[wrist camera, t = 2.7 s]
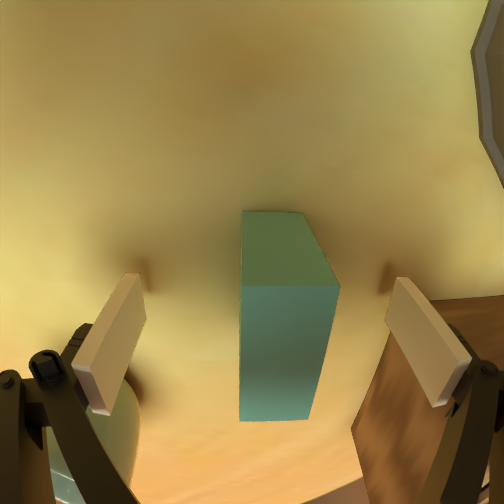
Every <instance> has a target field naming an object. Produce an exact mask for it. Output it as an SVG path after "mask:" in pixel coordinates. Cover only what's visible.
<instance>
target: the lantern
mask: <svg viewBox="0 0 504 504" xmlns="http://www.w3.org/2000/svg"><path fill="white" fill-rule="evenodd" d="M470 52H471V58H472V64H473V71H474V78H475V86H476V95H477V105H478V119H479V138H480V140H481V142H482V144H483V146H484V148H485V150H486V152H487V154H488V156H489V158H490V160H491V162H492V164H493V166H494V168H495V170H496V172H497V175H498V177H499V179H500V181H501V184H502V186H503V188H504V0H489V2H488V5H487V8H486V11H485V14H484V17H483V19H482V22H481V25H480V28H479V31H478V33H477V36H476V39H475V41H474V44H473V46H472V49H471V51H470Z"/></svg>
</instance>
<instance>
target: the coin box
mask: <svg viewBox="0 0 504 504" xmlns="http://www.w3.org/2000/svg"><path fill="white" fill-rule="evenodd" d="M429 302H430V304H431V305H432V306H433V307H434V309H435V310H436V311H437V312H438V314H439V315H440V316H441V317H442V319H443V320H444V321H445V323H450V324H451V325H453V326H454V327H455V328H457V329H458V330H459V332H460V333H461V334H462V336H463V337H464V338H465V339H466V341H467V343H469V345H470V346H471V347H472V349H473V350H474V351H475V353H476V354H477V355H478V357H479V358H480V359H481V360H487V361H490V362H492V363H494V364H495V365H496V366H497V367H498V369H499V370H501V371H504V295H503V296H492V297H481V298H468V299H454V300H439V301H429ZM454 401H455V400H454V398H453V396H452V395H451V397H450V398H449V400H448V402H447V403H446V404H445V405H441V406H437V407H432V406H431V404H430V402H429V400H428V398H427V396H426V394H425V392H424V390H423V388H422V386H421V384H420V383H419V381H418V379H417V377H416V375H415V373H414V371H413V369H412V368H411V366H410V364H409V362H408V360H407V358H406V357H405V355H404V353H403V351H402V349H401V348H400V346H399V344H398V342H397V341H396V339H395V337H394V335H393V334H392V332H391V333H390V335H389V338H388V341H387V344H386V347H385V349H384V352H383V355H382V357H381V360H380V363H379V365H378V368H377V370H376V373H375V375H374V378H373V380H372V383H371V385H370V387H369V390H368V392H367V394H366V397H365V399H364V401H363V403H362V406H361V408H360V410H359V412H358V414H357V417H356V419H355V421H354V423H353V425H352V427H351V432H352V435H353V439H354V443H355V447H356V450H357V454H358V458H359V462H360V465H361V469H362V473H363V477H364V481H365V485H366V489H367V493H368V497H369V501H370V504H415V503H416V501H417V499H418V496H419V494H420V492H421V490H422V488H423V485H424V483H425V481H426V478H427V476H428V473H429V471H430V468H431V466H432V463H433V461H434V458H435V455H436V453H437V450H438V447H439V444H440V441H441V439H442V436H443V433H444V429H445V426H446V423H447V420H448V417H449V415H448V416H447V417H445V415H446V413H447V412H448V410H449V409H450V407H451V406H452V404H453V403H454ZM488 502H489V459H488V464H487V468H486V472H485V476H484V480H483V484H482V488H481V491H480V495H479V498H478V502H477V504H486V503H488Z"/></svg>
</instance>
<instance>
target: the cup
mask: <svg viewBox="0 0 504 504" xmlns="http://www.w3.org/2000/svg"><path fill="white" fill-rule="evenodd" d="M86 413H87V415H88V417H89V419H90V421H91V423H92V425H93V427H94V429H95V431H96V433H97V434H98V436H99V438H100V440H101V442H102V444H103V445H104V447H105V449H106V451H107V452H108V454H109V456H110V458H111V459H112V461H113V463H114V464H115V466H116V468H117V469H118V471H119V472H120V474H121V476H122V477H123V479H124V480H125V482H126V483H127V485H128V486H129V488H130V487H131V482H132V477H133V472H134V467H135V462H136V456H137V450H138V444H139V436H140V425H141V414H140V407H139V402H138V399H137V397H136V394H135V392H134V390H133V389H132V387H131V386H130V384H129V383H128V382H127V381H126V380H125V378H123V381H122V384H121V387H120V389H119V392H118V395H117V398H116V401H115V404H114V406H113V409H112V412H111V415H110V416H108V415H103V414H97V413H93V411H92V409H91V407H90V405H88V407H87V410H86ZM46 434H47V445H48V455H49V463H50V471H51V478H52V484H53V490H54V496H55V499H56V500H58V501H60V502H62V503H65V504H86V503H85V501H84V499H83V497H82V495H81V493H80V491H79V489H78V487H77V485H76V483H75V481H74V479H73V477H72V475H71V473H70V471H69V469H68V466H67V464H66V462H65V460H64V457H63V455H62V453H61V450H60V448H59V445H58V443H57V440H56V438H55V435H54V433H53V430H52V427H46Z"/></svg>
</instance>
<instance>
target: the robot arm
mask: <svg viewBox="0 0 504 504" xmlns="http://www.w3.org/2000/svg"><path fill="white" fill-rule="evenodd" d="M146 319H147V318H146V313H145V307H144V301H143V294H142V288H141V281H140V274H139V273H125V274H124V276H123V277H122V279H121V280H120V282H119V283H118V285H117V287H116V288H115V290H114V291H113V293H112V295H111V296H110V298H109V299H108V301H107V303H106V304H105V306H104V308H103V309H102V311H101V312H100V314H99V316H98V317H97V319H96V321H95V323H94V324H87V323H84V324H83V325H82V326H81V327H79V328H78V329H77V330H76V331H75V333H74V334H73V336H72V339H70V341H69V343H68V346H66V347H65V349H64V351H63V352H62V354H61V356H59V354H58V353H57V352H55V351H53V350H43V351H40V352H38V353H36V354H35V355H34V356H33V357H32V358H31V359H30V361H29V369H30V371H31V373H32V375H33V377H34V378H29V379H22V378H21V376H20V375H19V373H18V372H17V371H15V370H5V371H2V372H1V373H0V504H56V501H55V496H54V490H53V484H52V478H51V471H50V463H49V455H48V445H47V434H46V427H52V430H53V433H54V435H55V438H56V440H57V443H58V445H59V448H60V450H61V453H62V455H63V457H64V460H65V462H66V464H67V466H68V469H69V471H70V473H71V475H72V477H73V479H74V481H75V483H76V485H77V487H78V489H79V491H80V493H81V495H82V497H83V499H84V501H85V503H86V504H140V502H139V501H138V500H137V498H136V497H135V495H134V494H133V492H132V491H131V489H130V488H129V486H128V485H127V483H126V482H125V480H124V479H123V477H122V476H121V474H120V472H119V471H118V469H117V468H116V466H115V464H114V463H113V461H112V459H111V458H110V456H109V454H108V452H107V451H106V449H105V447H104V445H103V444H102V442H101V440H100V438H99V436H98V434H97V433H96V431H95V429H94V427H93V425H92V423H91V421H90V419H89V417H88V415H87V413H86V410H87V407H88V405H90V407H91V409H92V411H93V413H97V414H103V415H108V416H110V415H111V412H112V409H113V406H114V404H115V401H116V398H117V395H118V392H119V389H120V387H121V384H122V381H123V378H124V376H125V373H126V370H127V367H128V365H129V362H130V359H131V357H132V354H133V352H134V349H135V346H136V344H137V341H138V339H139V336H140V334H141V331H142V329H143V326H144V324H145V321H146ZM385 322H386V323H387V325H388V327H389V328H390V330H391V332H392V334H393V335H394V337H395V339H396V341H397V342H398V344H399V346H400V348H401V349H402V351H403V353H404V355H405V357H406V358H407V360H408V362H409V364H410V366H411V368H412V369H413V371H414V373H415V375H416V377H417V379H418V381H419V383H420V384H421V386H422V388H423V390H424V392H425V394H426V396H427V398H428V400H429V402H430V404H431V406H432V407H437V406H441V405H445V404H446V403H447V402H448V400H449V398H450V397H451V395H452V396H453V398H454V400H455V401H454V403H453V404H452V406H451V407H450V409H449V410H448V412H447V413H446V415H445V417H447V416H448V415H449V417H448V420H447V423H446V426H445V429H444V433H443V436H442V439H441V441H440V444H439V447H438V450H437V453H436V455H435V458H434V461H433V463H432V466H431V468H430V471H429V473H428V476H427V478H426V481H425V483H424V485H423V488H422V490H421V492H420V494H419V496H418V499H417V501H416V503H415V504H477V502H478V498H479V495H480V491H481V488H482V484H483V480H484V476H485V472H486V468H487V464H488V459H489V504H504V371H501V370H499V369H498V367H497V366H496V365H495V364H494V363H492V362H490V361H487V360H481V359H480V358H479V357H478V355H477V354H476V353H475V351H474V350H473V349H472V347H471V346H470V345H469V343H467V341H466V339H465V338H464V337H463V336H462V334H461V333H460V332H459V330H458V329H457V328H455V327H454V326H453V325H451V324H450V323H445V321H444V320H443V319H442V317H441V316H440V315H439V314H438V312H437V311H436V310H435V309H434V307H433V306H432V305H431V304H430V302H429V301H428V300H427V299H426V298H425V296H424V295H423V294H422V293H421V291H420V290H419V289H418V288H417V287H416V285H415V284H414V283H413V282H412V281H411V280H410V278H409V277H396V281H395V284H394V288H393V292H392V296H391V299H390V303H389V306H388V310H387V313H386V316H385Z"/></svg>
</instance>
